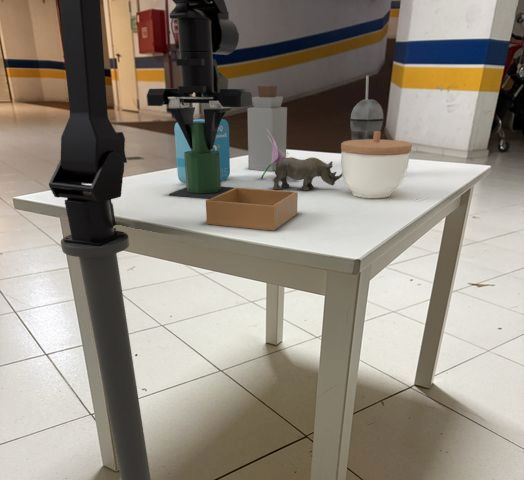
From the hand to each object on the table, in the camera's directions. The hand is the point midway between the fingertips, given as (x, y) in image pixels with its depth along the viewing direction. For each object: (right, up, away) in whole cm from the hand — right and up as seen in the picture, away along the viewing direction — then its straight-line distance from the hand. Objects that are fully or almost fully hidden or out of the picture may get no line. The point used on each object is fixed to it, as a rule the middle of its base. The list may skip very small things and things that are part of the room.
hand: (201, 149), depth 93 cm
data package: (-1, -2, +14) cm, 14 cm away
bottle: (0, -7, +4) cm, 8 cm away
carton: (+10, -17, -15) cm, 25 cm away
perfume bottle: (+13, +7, +30) cm, 33 cm away
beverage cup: (+34, +2, +20) cm, 40 cm away
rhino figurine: (+20, -6, +6) cm, 22 cm away
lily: (+15, 0, +17) cm, 23 cm away
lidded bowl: (+32, -8, +1) cm, 33 cm away
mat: (0, -7, +4) cm, 8 cm away
